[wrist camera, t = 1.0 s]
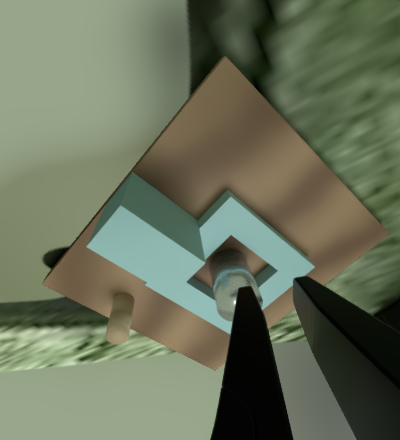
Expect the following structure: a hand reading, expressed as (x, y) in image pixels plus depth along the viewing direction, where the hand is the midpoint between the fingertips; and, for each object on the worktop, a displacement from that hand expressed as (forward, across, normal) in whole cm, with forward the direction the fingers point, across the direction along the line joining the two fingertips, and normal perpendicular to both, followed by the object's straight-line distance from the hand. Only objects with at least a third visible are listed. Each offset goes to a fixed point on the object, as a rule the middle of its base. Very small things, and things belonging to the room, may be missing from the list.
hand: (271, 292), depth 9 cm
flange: (+11, +2, +5) cm, 13 cm away
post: (+11, 0, +8) cm, 14 cm away
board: (+12, +1, +7) cm, 14 cm away
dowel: (+11, +9, +9) cm, 17 cm away
